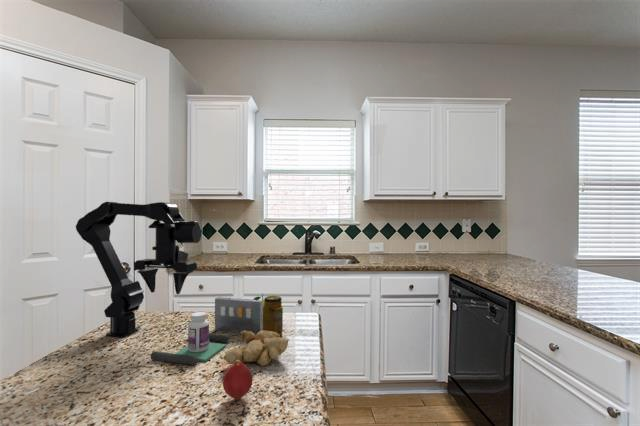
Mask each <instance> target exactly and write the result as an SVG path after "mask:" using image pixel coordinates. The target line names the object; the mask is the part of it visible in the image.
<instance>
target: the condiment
mask: <svg viewBox="0 0 640 426" xmlns="http://www.w3.org/2000/svg"><path fill="white" fill-rule="evenodd" d="M282 299H283V298H282V297H281V296H278V295H270V296H266V297H264V298H263V300H264V301H265V302H264V307H263V331H272V332H276V333H277V334H279V335H280V338H285V339H286V340H288V341H289V340H290V339H289V338H288V337H287V335H285V334H284V333H283V329H284V328H283V327H284V325H283V324H284V323H283V322H284V320H283V319H284V318H283V315H284V314H283V313H284V312H283V311H284V310H283V303H282Z"/></svg>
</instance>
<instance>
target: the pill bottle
mask: <svg viewBox="0 0 640 426" xmlns="http://www.w3.org/2000/svg"><path fill="white" fill-rule="evenodd" d="M187 329H188V330H187V346H188V350H189V351H190V352H195V353H198V352H202V351H205V350H207V349H208V347H209V343H210V340H209V333H210V322H209V321H208V319H207V312H205V311H197V312H193V313H191V314H190V321H189V323H188V325H187Z"/></svg>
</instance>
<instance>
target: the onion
mask: <svg viewBox="0 0 640 426" xmlns="http://www.w3.org/2000/svg"><path fill="white" fill-rule="evenodd" d="M234 363H235V364H231V366H229V368H227V370H226V372H225V374H224V376H223V379H222V386H223V387H222V388H223V390H224V392H225V394H227V396H228V397H231V398H232V399H233V400H235V401H239V400H241V399H242V398H243V397H244V396H245V395H247V394H248V393H249V392H250V390H251V388H252V385H253V374H252V371H251V370H250V368H249V367H248V366H247V364H244V362H242V363H241V361H240V360H236V361H235V362H234Z"/></svg>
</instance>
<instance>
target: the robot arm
mask: <svg viewBox="0 0 640 426" xmlns="http://www.w3.org/2000/svg"><path fill="white" fill-rule="evenodd" d="M118 215H120V216H123V215H124V216H133V217H134V216H135V217H136V216H137V217H146V218H148V219H150V220H153V222H152V223H150V225H148V228H149V229H155V246H152V248H151V249H152V251H155V255H154V256H155V258H144V259H143V258H142V259H138V260H136V261H135V262H134V264H133V266H134V267H133V269H134V270H135V271H137V274H138V273H139V275H140V276H141V277H142V279H143V280H144V282H145V284H146V286H147V288H148V290H149V291H150V293H155V292H156V291H155V290H156V277H157V276H156V275H157V272H158V271H159V269H171V270H174V271H175V272H173V273H172V275H173V280H174V281H173V282H174V288H175V293H176V295H180V294H181V292H182V289H183V286H184V283H185V281H186V279H187V277H188V276H189V275H190V274H191V273H193V272H194V271H197V270H198V264H197V262H196V261H195V260H188V259H189V258H188V257H189V253H188V252H185V251H182V250H180V247H179V245H178V244H198V243H199V242H200V240H201V238H202V230H201V228H200V226H199V222H198V221H197V220H191V221H186V220H185V218H184V216H183V215H182V213H181V212H180V208H179V206H178V205H177V204H176V203H173V202H163V201H160V202H159V201H158V202H151V203H145V204H138V203H135V204H134V203H125V202H123V203H121V202H116V201H105V202H102V203H101V204H100V205H99V206H98V207H97V208H95V209H93V210H91V211H89V212H87V213H86V214H85V215H84V216H83V217H81V218H79V219H78V220H77V222H76V224H75V230H76V231H77V234H78V235H79V236H80V238H81V239H82V240H83V241H85V242H86V243H88V244H89V245H90V246H91V247H92V249H93V251H94V253H95V255H96V257H97V259H98V261H99V264H100V266H101V267H102V270H103V271H104V274H105V276H106V278H107V280H108V282H109V283H110V286H111V288H110V289H111V290H110V300H111V303H110V304H109V305H108V306H107V307H106V308H105V309H104V315H105V317H106V318H109V319H110V325H109V326H110V327H109V329H110V330H109V332H107V333H105V336H108V337H117V338H123V337H124V338H125V337H127V336H129V335H131V334H133V333H135V332H139V328H136V315H135V314H136V313H135V312H136V311H138V310H139V308H140V307H141V306H140V305H142V303H143V301H144V300H145V299H144V298H145V295H144V293H145V290H144V289H143V288H142V286H141V283H140V282H139V280H135V281H132V280H131V279H130V278H129V276H128V275H127V272H126V271H125V268H124V266H123V265H122V262H121V260H120V258H119V256H118V254H117V253H116V250H115V249H114V246H113V244H112V242H111V240H110V237H111V232H112V231H111V227H110V226H111V225H112V224H113V223H114V222H115V219H116V217H117V216H118ZM173 225H174V226H173ZM177 243H178V244H177Z"/></svg>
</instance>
